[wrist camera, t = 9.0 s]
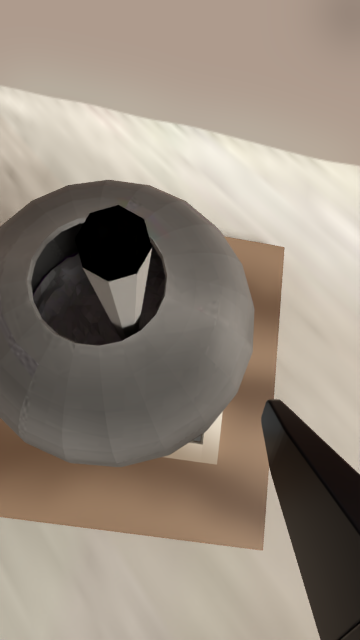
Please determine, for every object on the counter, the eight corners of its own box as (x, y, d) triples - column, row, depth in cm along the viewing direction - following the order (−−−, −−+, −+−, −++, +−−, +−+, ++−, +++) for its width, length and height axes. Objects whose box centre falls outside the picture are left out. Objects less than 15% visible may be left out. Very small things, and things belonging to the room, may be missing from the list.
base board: (256, 540, 19) (267, 557, 17) (-33, 503, 18) (-55, 517, 16) (278, 254, 24) (288, 242, 22) (49, 213, 23) (39, 197, 21)
